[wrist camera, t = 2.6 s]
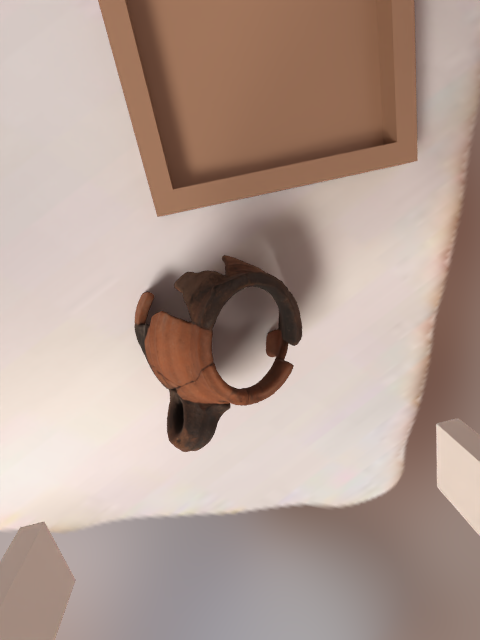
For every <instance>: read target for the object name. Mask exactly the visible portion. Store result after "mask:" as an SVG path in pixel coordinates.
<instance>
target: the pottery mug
mask: <svg viewBox="0 0 480 640" xmlns="http://www.w3.org/2000/svg"><path fill="white" fill-rule="evenodd" d="M222 260H223V262H224V263H225V270H226V275H222V274H220V273H218V272H216V271H202V272H199V273H194V272H187V273H185V274H184V275H182V276H181V277H180V278H179V279H178V280H177V281H176V282H175V284H174V287H175V288H176V289H177V290H178V291H179V292H181V293H183V298H184V301H185V303H186V305H187V308H188V311H189V315H190V318H191V322H189V321H185V320H183V319H179V318H176V317H174V316H172V315H170V314H168V313H167V312H164V311H160V312H158V313H156V314H155V315H153V316H152V318H151V323H150V325H145V323H146V319H147V315H148V312H149V309H150V306H151V304H152V301H153V299H154V295H153V294H152V293H150V292H146V293H143V294H142V296H141V298H140V300H139V302H138V305H137V309H136V313H135V332H136V336H137V340H138V342H139V344H140V346H141V348H142V351H143V353H144V354H145V357H146V359H147V361H148V363H149V365H150V367H151V369H152V371H153V372H154V374H155V375H156V377H157V378H158V380H159V381H160V382H161V383H162V384H163V385H164V386H165V387H166V388H167V389H169V391H170V404H169V410H168V417H167V433H168V438H169V441H170V442H171V443H172V444H173V445H174V446H175V447H176V448H178V449H180V450H181V451H183V452H188V451H197V450H199V449H201V448H202V447H204V446H205V445H206V444H208V443H209V441H210V440H211V439H212V437H213V435H214V433H215V430H216V427H217V423H218V421H219V419H220V417H221V416H222V414H223V413H224V412H225V411H227V410H228V409H229V408H230V403H232V404H235V405H250V404H254V403H258V402H259V401H262V400H264V399H266V398H268V397H270V396H271V395H273V394H274V393H275V392H276V391H277V390H278V389H279V388H280V387H281V386H282V385H283V384H284V382H285V381H286V379H287V378H288V376H289V375H290V373H291V371H292V369H293V365H292V364H291V363H289V362H287V361H284V359H285V356H286V353H287V349H288V343H289V344H291V345H294V346H295V345H297V344H298V342H299V341H300V340H301V337H302V322H301V318H300V312H299V308H298V305H297V302H296V300H295V299H294V297H293V295H292V294H291V292H289V291H288V288H287V287H286V286H285V285H284V284H283V282H282V281H280V280H278V279H277V278H276V277H274V276H272V275H270V274H268V273H265V272H264V271H263V270H261V269H260V268H258V267H255V266H254V265H250V264H248V263H246V262H243V261H241V260H238V259H236V258H233V257H230V256H226V255H224V256H223V257H222ZM252 286H253V287H260V288H262V289H264V290H266V291H267V292H269V293H270V294H271V295H272V297H273V298H274V300H275V301H276V303H277V305H278V308H279V328H278V329H277V330H274V331H272V332H269V333H268V335H267V339H266V353H267V355H268V356H270V357H276V359H275V361H274V363H273V365H272V367H271V369H270V370H269V371H268V373H267V374H266V375H265V376H264V377H263V379H262V380H261V381H259V382H258V383H257V384H255V385H253V386H251V387H249V388H242V389H237V388H234V387H231V386H229V385H228V384H227V383H226V382H225V381H224V380H223V379H222V378H221V376H220V375H219V373H218V372H217V370H216V367H215V364H214V362H213V356H212V334H213V331H212V328H213V326H214V324H215V322H216V319H217V317H218V314H219V312H220V310H221V309H222V307H223V306H224V304H225V303H226V302H227V301H228V300H229V299H230V298H231V297H232V296H233V295H234V294H236V293H237V292H238V291H240V290H242V289H244V288H245V287H252Z"/></svg>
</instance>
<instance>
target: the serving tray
mask: <svg viewBox="0 0 480 640" xmlns="http://www.w3.org/2000/svg"><path fill="white" fill-rule="evenodd" d="M98 2H99V5H100V9H101V12H102V16H103V20H104V23H105V27H106V31H107V34H108V38H109V42H110V45H111V49H112V53H113V56H114V60H115V63H116V67H117V71H118V74H119V78H120V82H121V85H122V89H123V93H124V96H125V100H126V104H127V107H128V111H129V114H130V118H131V122H132V125H133V129H134V133H135V136H136V140H137V144H138V147H139V151H140V155H141V158H142V162H143V166H144V169H145V173H146V176H147V180H148V184H149V187H150V191H151V195H152V198H153V202H154V206H155V209H156V213H157V217H158V216H165V215H170V214H174V213H179V212H183V211H188V210H193V209H197V208H202V207H207V206H211V205H216V204H221V203H225V202H230V201H235V200H239V199H244V198H249V197H253V196H258V195H263V194H267V193H272V192H276V191H281V190H286V189H290V188H295V187H300V186H304V185H309V184H314V183H318V182H323V181H328V180H332V179H337V178H342V177H346V176H351V175H356V174H360V173H365V172H370V171H374V170H379V169H383V168H388V167H393V166H397V165H402V164H406V163H410V162H414V161H417V112H416V62H415V12H414V0H98Z"/></svg>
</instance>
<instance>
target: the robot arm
mask: <svg viewBox="0 0 480 640" xmlns="http://www.w3.org/2000/svg"><path fill="white" fill-rule="evenodd" d="M436 426H437V429H436V430H437V487H438V488H439V489H440V491H441V492H442V493H443V494H444V495H445V496H446V497H447V499H448V500H449V501H450V502H451V503H452V504H453V506H454V507H455V508H456V509H457V510H458V511H459V513H460V514H461V515H462V516H463V517H464V518H465V519H466V521H467V522H468V523H469V524H470V525H471V526H472V527H473V529H474V530H475V531H476V532H477V533H478V534H479V535H480V435H479V434H477V433H476V432H475V431H474V430H472V429H471V428H470V427H469V426H467V425H466V424H465V423H464V422H462V421H461V420H460V419H458V418H457V419H453V420H449V421H445V422H441V423H437V425H436ZM74 583H75V578H74V576H73V575H72V573H71V571H70V569H69V567H68V565H67V563H66V561H65V559H64V558H63V556H62V554H61V552H60V550H59V548H58V546H57V544H56V543H55V541H54V539H53V537H52V535H51V533H50V531H49V530H48V528H47V526H46V524H45V522H41V523H37V524H33V525H29V526H25V527H21V528H20V529H19V531H18V532H17V534H16V536H15V537H14V539H13V541H12V543H11V544H10V546H9V548H8V550H7V551H6V553H5V554H4V556H3V558H2V560H1V561H0V640H55V638H56V635H57V632H58V629H59V626H60V623H61V620H62V618H63V615H64V612H65V609H66V606H67V603H68V600H69V597H70V594H71V592H72V589H73V586H74Z"/></svg>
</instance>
